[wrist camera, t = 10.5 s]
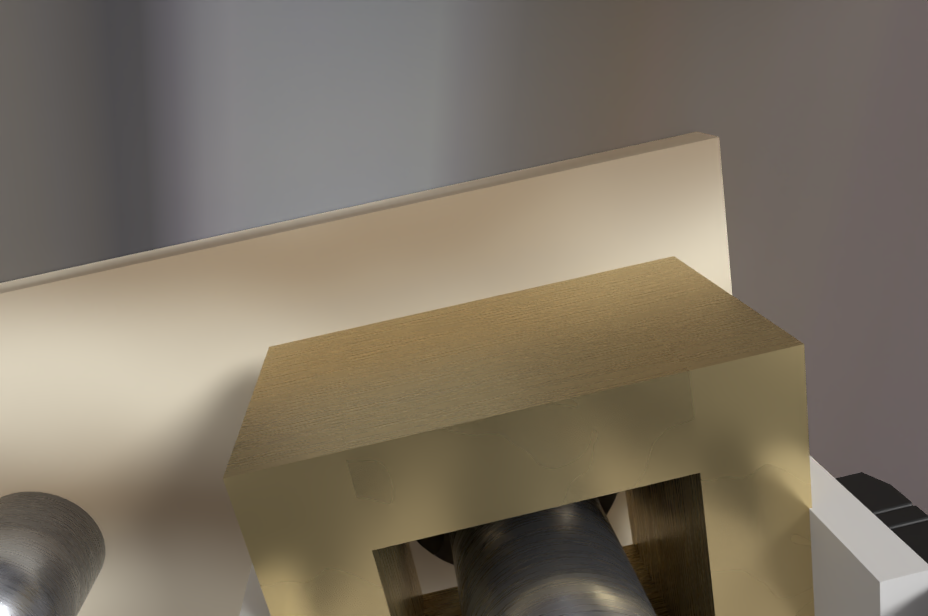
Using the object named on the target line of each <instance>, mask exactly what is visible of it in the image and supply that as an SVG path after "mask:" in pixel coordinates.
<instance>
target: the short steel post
mask: <svg viewBox="0 0 928 616" xmlns="http://www.w3.org/2000/svg"><path fill="white" fill-rule="evenodd" d="M104 561H105V542H104V538H103V535H102V532H101V530H100V529H99V527H98V525H97V524H96V522H95V521H94V519H93V518H92V517H91V516H90V515H89V514H88V513H87V512H86V511H85V510H83V509H82V508H81V507H79V506H78V505H76V504H75V503H73V502H71V501H69V500H67V499H65V498H62V497H60V496H57V495H53V494H49V493H43V492H31V491H30V492H18V493H12V494H9V495H6V496H3V497H0V616H77V615H78V613H79V611H80V609H81V607H82V605H83V604H84V602H85V600H86V598H87V596H88V594H89V592H90V590H91V588H92V586H93V585H94V583H95V581H96V579H97V577H98V575H99V573H100V571H101V569H102V567H103V564H104Z"/></svg>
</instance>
